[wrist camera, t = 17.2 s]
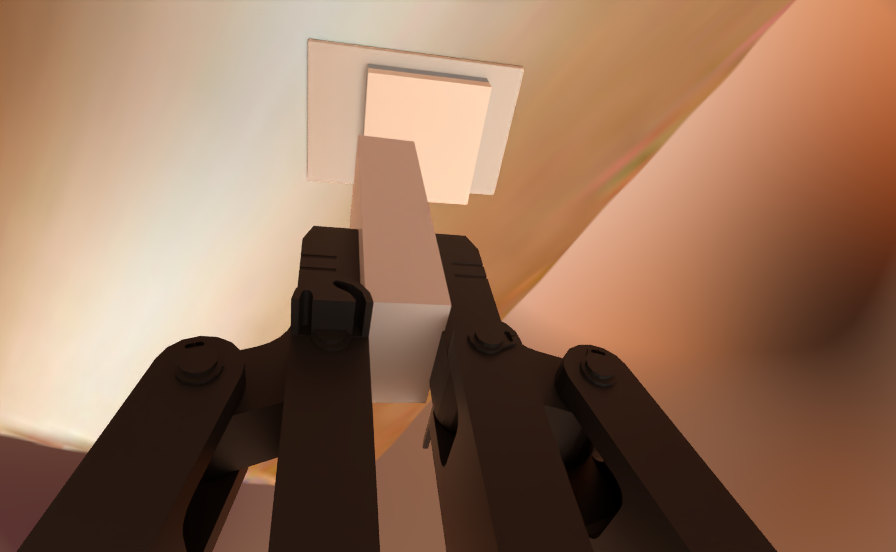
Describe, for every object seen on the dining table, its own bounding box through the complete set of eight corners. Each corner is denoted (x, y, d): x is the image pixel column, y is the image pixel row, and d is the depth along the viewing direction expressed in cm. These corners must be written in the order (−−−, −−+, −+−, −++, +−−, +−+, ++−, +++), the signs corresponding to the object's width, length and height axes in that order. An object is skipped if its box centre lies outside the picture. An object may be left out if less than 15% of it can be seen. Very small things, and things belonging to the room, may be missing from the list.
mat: (308, 38, 38) (308, 41, 37) (522, 66, 41) (524, 69, 41) (308, 177, 44) (307, 180, 44) (492, 191, 48) (493, 194, 47)
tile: (368, 72, 37) (491, 87, 39) (367, 63, 39) (486, 78, 41) (359, 197, 43) (467, 204, 45) (359, 185, 45) (463, 192, 47)
